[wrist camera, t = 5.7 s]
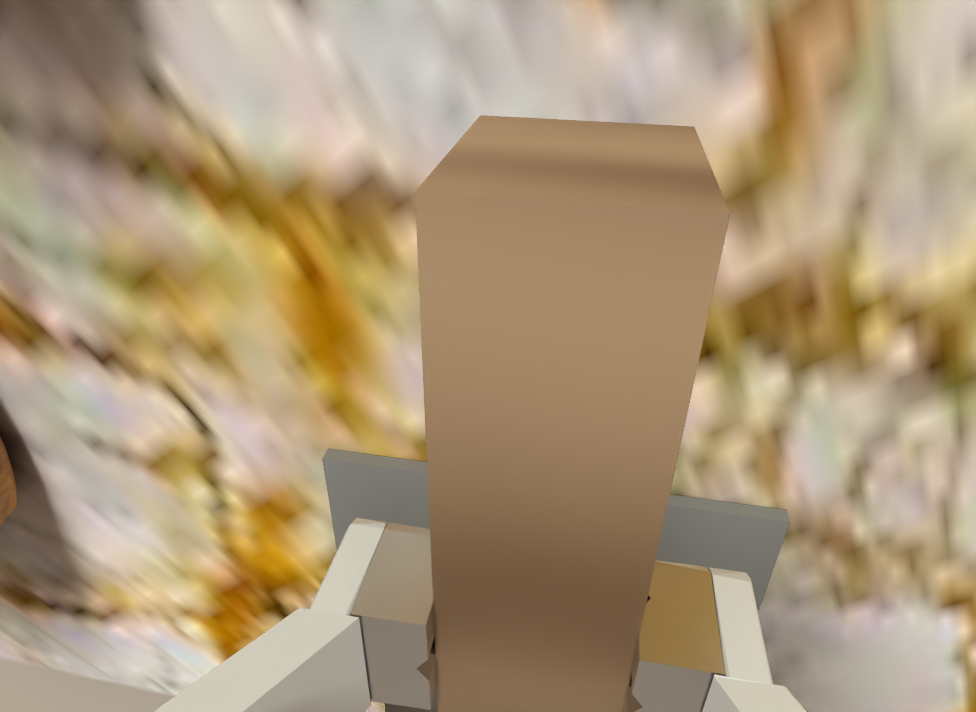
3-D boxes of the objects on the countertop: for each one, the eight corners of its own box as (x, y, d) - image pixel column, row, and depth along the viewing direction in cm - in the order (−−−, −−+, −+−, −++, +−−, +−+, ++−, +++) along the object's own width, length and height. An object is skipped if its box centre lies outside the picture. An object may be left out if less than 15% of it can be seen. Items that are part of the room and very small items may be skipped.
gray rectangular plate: (786, 510, 25) (790, 521, 24) (709, 730, 32) (711, 743, 32) (328, 448, 27) (322, 458, 27) (360, 666, 35) (356, 677, 35)
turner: (341, 108, 8) (217, 177, 6) (855, 135, 7) (977, 230, 5) (404, 754, 16) (364, 903, 14) (655, 801, 15) (662, 970, 13)
